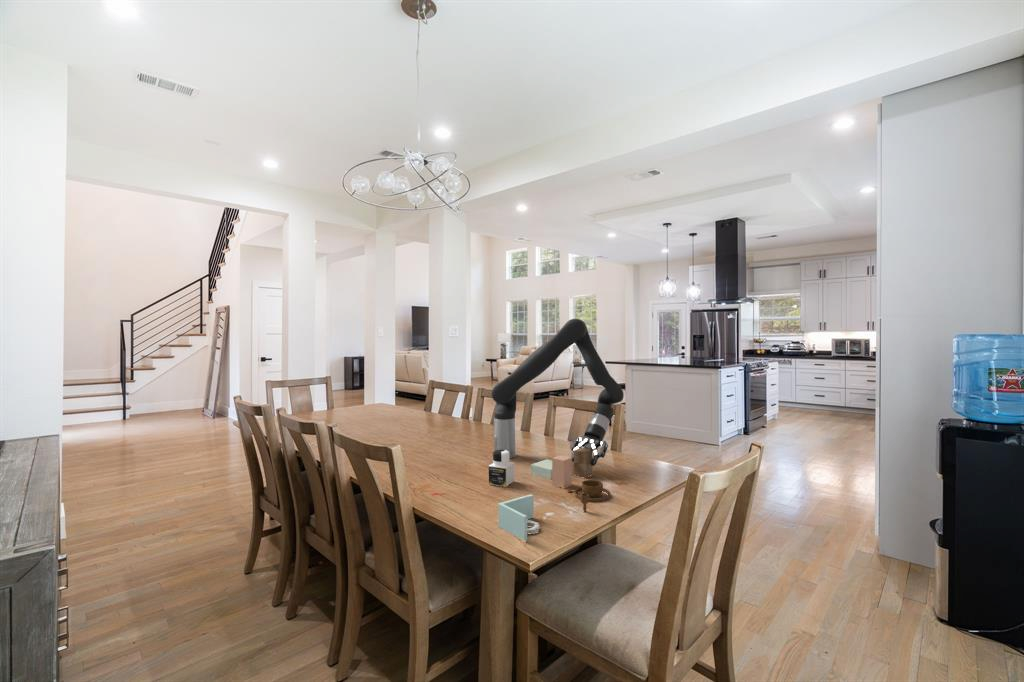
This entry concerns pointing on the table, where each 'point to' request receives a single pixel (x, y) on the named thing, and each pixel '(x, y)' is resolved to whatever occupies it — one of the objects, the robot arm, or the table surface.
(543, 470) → the sage base block
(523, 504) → the l-shaped corner panel
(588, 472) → the walnut pillar
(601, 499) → the place setting
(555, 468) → the terracotta pillar
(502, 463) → the medicine bottle
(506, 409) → the robot arm
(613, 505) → the table surface
